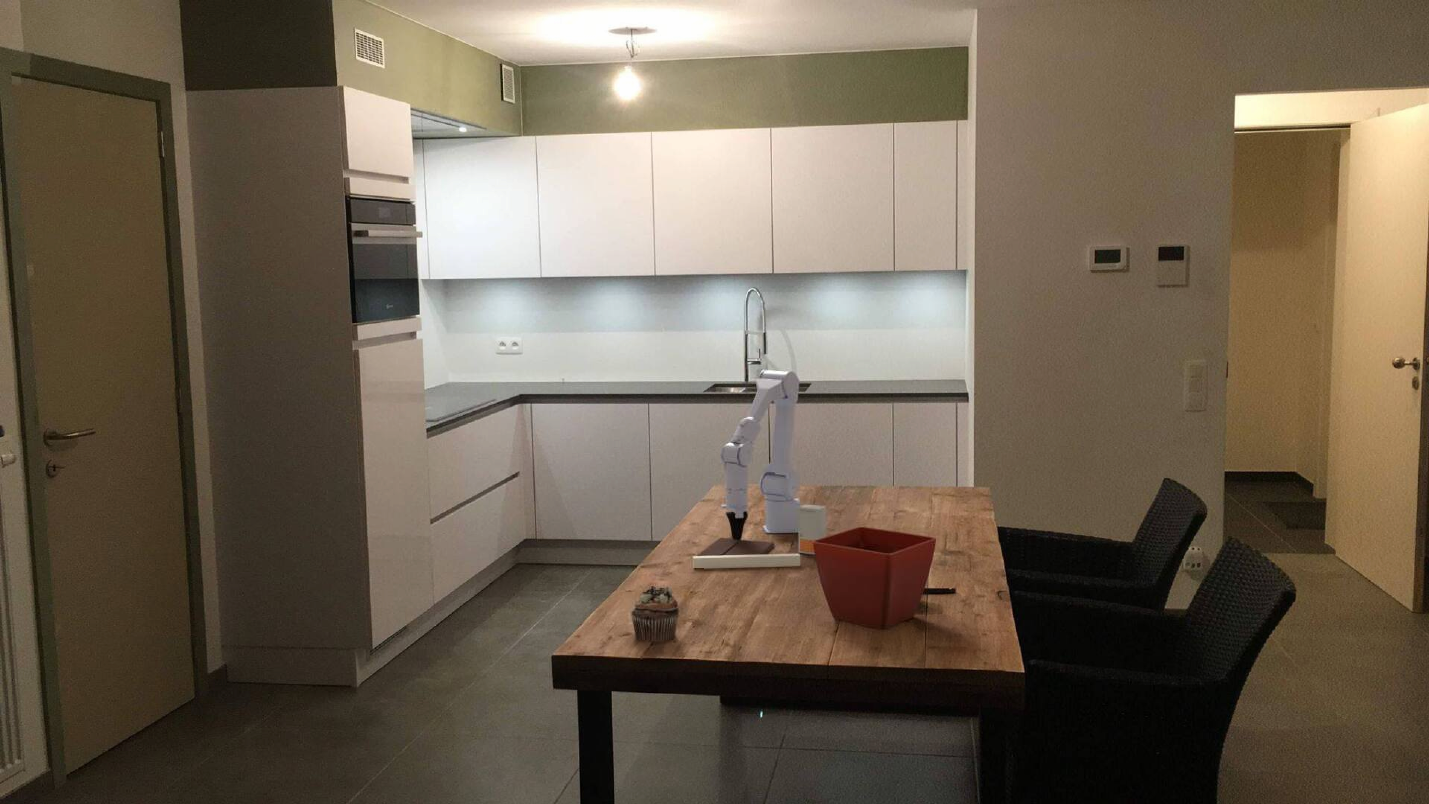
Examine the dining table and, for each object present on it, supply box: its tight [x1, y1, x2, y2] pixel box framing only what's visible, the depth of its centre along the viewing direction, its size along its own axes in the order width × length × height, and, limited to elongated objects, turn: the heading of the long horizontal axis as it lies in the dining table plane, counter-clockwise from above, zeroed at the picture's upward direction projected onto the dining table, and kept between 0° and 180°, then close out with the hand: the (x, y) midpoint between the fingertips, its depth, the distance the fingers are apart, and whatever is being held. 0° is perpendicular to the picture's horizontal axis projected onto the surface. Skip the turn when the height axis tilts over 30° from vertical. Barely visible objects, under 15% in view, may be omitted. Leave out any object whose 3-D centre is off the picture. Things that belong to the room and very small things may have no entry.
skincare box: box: [797, 504, 827, 556], centre depth 316 cm, size 6×4×12 cm
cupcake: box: [630, 585, 680, 643], centre depth 249 cm, size 10×10×10 cm
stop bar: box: [692, 553, 801, 569], centre depth 303 cm, size 26×2×3 cm, turn 95°
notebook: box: [696, 537, 775, 556], centre depth 316 cm, size 15×20×2 cm
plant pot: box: [813, 526, 937, 630], centre depth 260 cm, size 19×19×17 cm
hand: (736, 539), depth 327 cm, fingers closed
